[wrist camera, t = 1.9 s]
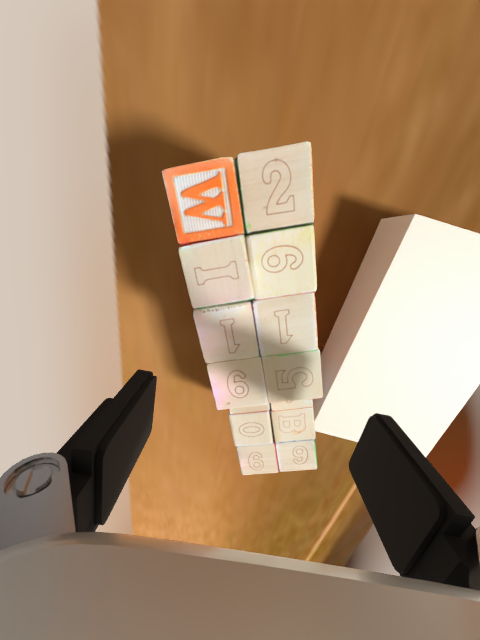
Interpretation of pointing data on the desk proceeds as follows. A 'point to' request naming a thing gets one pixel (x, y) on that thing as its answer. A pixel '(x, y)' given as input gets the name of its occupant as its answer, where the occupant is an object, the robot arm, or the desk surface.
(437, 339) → the block
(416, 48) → the desk surface
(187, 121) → the desk surface
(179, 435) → the desk surface
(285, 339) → the stack of blocks
